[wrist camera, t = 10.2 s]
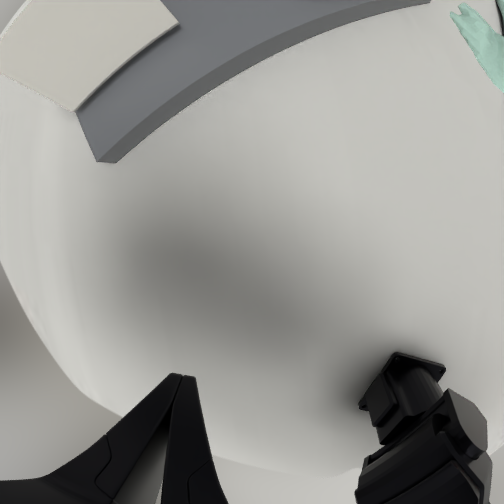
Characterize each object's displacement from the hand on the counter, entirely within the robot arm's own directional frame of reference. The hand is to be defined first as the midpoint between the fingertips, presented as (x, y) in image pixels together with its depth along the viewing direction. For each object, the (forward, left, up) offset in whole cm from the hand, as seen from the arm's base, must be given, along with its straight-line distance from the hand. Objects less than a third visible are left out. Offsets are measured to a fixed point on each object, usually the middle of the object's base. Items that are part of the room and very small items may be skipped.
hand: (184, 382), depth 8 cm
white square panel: (+13, -12, -9) cm, 20 cm away
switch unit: (+7, -20, -12) cm, 25 cm away
